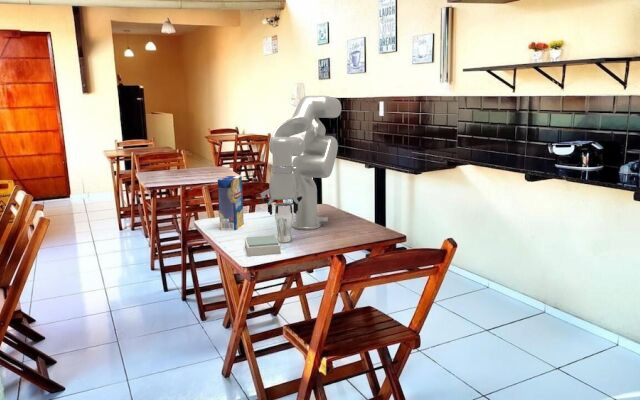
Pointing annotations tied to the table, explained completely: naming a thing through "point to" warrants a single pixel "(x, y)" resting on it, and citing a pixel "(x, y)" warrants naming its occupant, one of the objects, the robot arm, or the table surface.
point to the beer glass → (284, 221)
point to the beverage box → (230, 202)
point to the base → (262, 245)
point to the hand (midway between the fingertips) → (282, 213)
